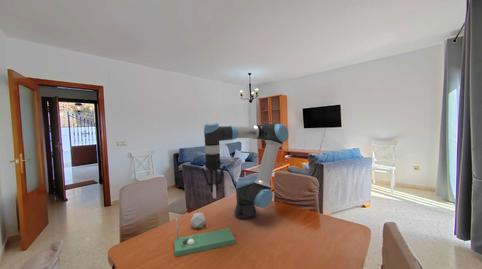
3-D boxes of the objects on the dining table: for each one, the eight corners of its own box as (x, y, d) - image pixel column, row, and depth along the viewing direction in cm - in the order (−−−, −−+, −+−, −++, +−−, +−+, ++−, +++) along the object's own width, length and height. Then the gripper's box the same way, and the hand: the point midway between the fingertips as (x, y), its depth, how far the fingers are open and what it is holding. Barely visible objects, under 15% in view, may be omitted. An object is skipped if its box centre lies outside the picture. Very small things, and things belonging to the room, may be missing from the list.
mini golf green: (229, 232, 120) (228, 208, 119) (235, 243, 109) (234, 217, 108) (174, 243, 111) (173, 217, 110) (175, 256, 100) (173, 228, 99)
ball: (191, 235, 109) (184, 241, 108) (192, 239, 105) (185, 245, 104) (195, 240, 110) (189, 246, 109) (196, 244, 106) (190, 250, 105)
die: (198, 233, 121) (208, 217, 124) (185, 225, 123) (195, 209, 125) (201, 231, 130) (210, 216, 132) (189, 223, 131) (198, 208, 133)
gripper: (223, 151, 114) (224, 193, 116) (199, 153, 110) (201, 196, 112) (226, 153, 107) (228, 198, 109) (200, 155, 103) (202, 201, 105)
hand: (214, 197), depth 110 cm, fingers closed
